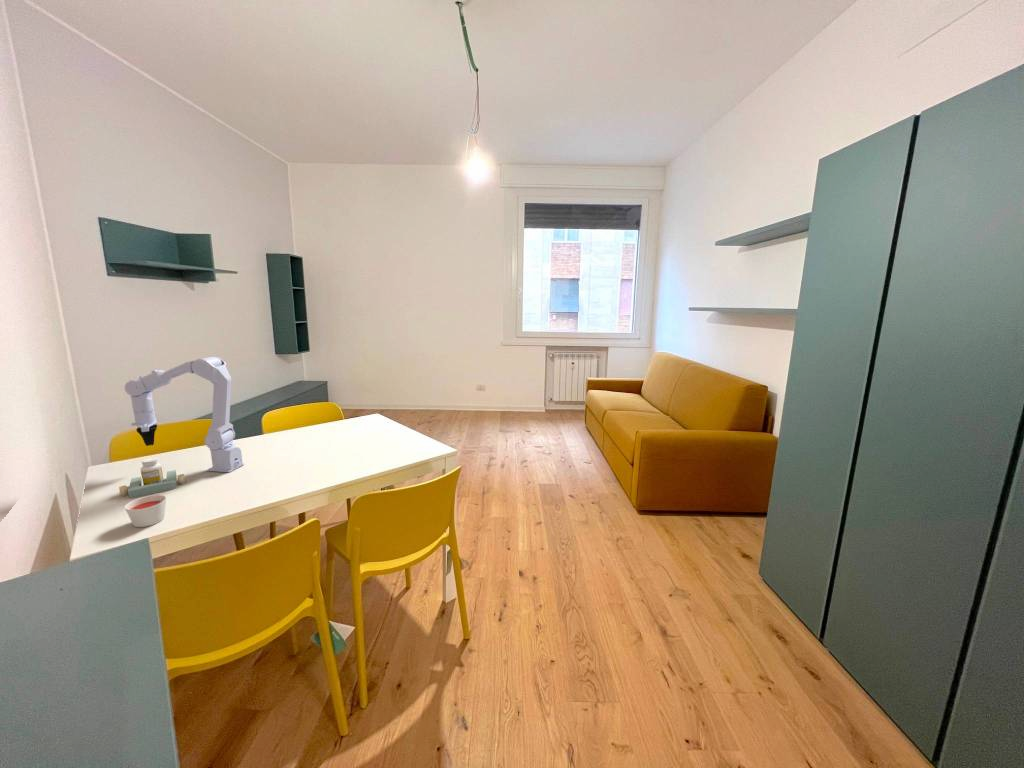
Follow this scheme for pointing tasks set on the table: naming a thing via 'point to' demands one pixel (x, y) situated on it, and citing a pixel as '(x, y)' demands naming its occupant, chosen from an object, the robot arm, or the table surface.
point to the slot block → (151, 485)
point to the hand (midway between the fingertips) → (150, 444)
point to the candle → (146, 510)
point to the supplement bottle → (151, 471)
